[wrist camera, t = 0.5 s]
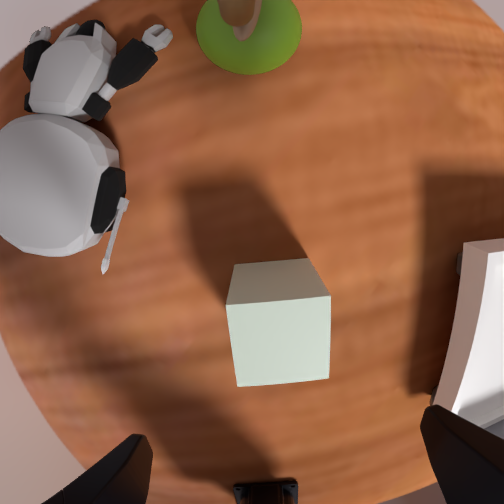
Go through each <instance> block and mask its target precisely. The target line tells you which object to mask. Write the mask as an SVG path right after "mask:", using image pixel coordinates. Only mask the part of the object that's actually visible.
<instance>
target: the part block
mask: <svg viewBox="0 0 504 504" xmlns="http://www.w3.org/2000/svg"><path fill="white" fill-rule="evenodd" d="M226 311H227V318H228V326H229V333H230V340H231V346H232V353H233V360H234V367H235V373H236V380H237V386H238V387H241V386H258V385H271V384H283V383H293V382H302V381H311V380H319V379H326V378H329V362H330V324H331V295H330V294H329V292H328V290H327V288H326V287H325V285H324V283H323V282H322V280H321V278H320V276H319V275H318V273H317V271H316V270H315V268H314V266H313V265H312V263H311V261H310V259H309V258H302V259H291V260H280V261H268V262H257V263H245V264H235V265H234V269H233V274H232V278H231V283H230V287H229V292H228V297H227V301H226Z"/></svg>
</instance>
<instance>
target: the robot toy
mask: <svg viewBox="0 0 504 504" xmlns="http://www.w3.org/2000/svg"><path fill="white" fill-rule="evenodd" d="M164 30H165V28H164V26H162V25H153V26H152V27H150V28H149V29H147V30H146V31H145V33H144V35H143V37H142V40H141V42H140V41H138V40H136V39H134V38H133V39H132V40H131V41H130V42H129V43H128V44H127V45H126V46H125V47H124V48H123V49H122V50H121V51H120V52H119V53H118V54H117V55H116V44H117V42H116V41H115V40H114V39H113V38H112V37H111V36H110V35H109V34H108V33H107V32H106V31H105V26H104V24H103V23H102V22H100V21H98V20H90V21H87V22H85V23H83V24H82V25H81V26H79V25H78V24H77V23H76V24H74V25H72V26H70V27H68V28H66V29H65V30H64V31H63V32H62V34H61V35H60V36H59V38H58V39H57V40H56V41H55V43H54V44H53V45H52V44H51V43H50V42H48V41H49V39H50V38H51V31H50V27H45V26H44V27H42V28H41V31H39V30H37V31H35V32H34V33H33V34H32V36H31V38H30V41H29V42H30V45H28V46H27V47H26V48H25V54H24V63H23V70H24V72H25V73H26V75H27V77H28V79H29V80H30V82H31V90H30V92H29V93H27V94H26V95H25V105H24V110H26V111H27V112H32V113H39V114H32V115H26V116H23V117H20V118H17V119H14V120H12V121H10V122H9V123H8V124H7V125H5V126H4V127H3V128H2V129H1V130H0V235H1V236H2V237H3V238H4V239H5V240H7V241H8V242H10V243H11V244H13V245H14V246H16V247H17V248H18V249H20V250H22V251H23V252H26V253H31V254H37V255H43V256H50V257H62V256H69V255H72V254H74V253H77V252H79V251H82V250H85V249H87V248H89V247H91V246H93V245H96V244H98V242H99V240H100V239H101V237H102V236H103V234H104V233H105V232H108V231H112V233H111V236H110V240H109V243H108V247H107V251H106V254H105V258H103V262H102V265H101V270H102V274H104V273H105V272H106V271H107V269H108V267H109V263H110V260H109V259H110V255H111V252H112V248H113V244H114V241H115V237H116V234H117V231H118V227H119V224H120V221H121V218H122V214H123V211H125V212H126V209H127V206H128V203H129V200H127V199H125V194H126V183H125V172H124V171H123V170H121V169H120V165H119V153H118V150H117V149H116V147H115V146H114V145H113V143H112V142H111V140H110V139H109V138H108V137H107V136H105V135H104V134H103V133H101V132H99V131H98V130H96V129H94V128H92V127H90V126H88V125H85V124H83V123H80V122H87V121H88V120H90V119H92V118H94V119H96V120H98V121H101V120H102V118H103V117H104V116H105V114H106V113H107V112H108V111H109V109H110V108H111V105H110V103H109V102H108V101H109V99H110V98H111V97H112V96H113V95H114V93H115V92H116V91H117V90H119V89H121V88H124V87H126V86H129V85H131V84H133V83H135V82H137V81H139V80H140V79H141V78H142V76H143V75H144V74H145V73H146V72H147V71H148V70H149V69H150V68H151V67H152V66H153V65H154V64H155V63H156V61H157V60H158V58H157V56H156V55H155V54H154V52H157V51H159V50H161V49H163V48H166V47H167V45H168V44H169V42H170V41H171V40H172V38H173V35H172V32H171V31H170V30H169V29H166V30H165V31H164ZM77 121H78V122H77ZM112 229H113V230H112Z"/></svg>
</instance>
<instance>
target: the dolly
mask: <svg viewBox="0 0 504 504" xmlns="http://www.w3.org/2000/svg"><path fill="white" fill-rule="evenodd" d="M456 272H457V274H459V275H460V285H459V292H458V299H457V305H456V311H455V317H454V323H453V328H452V333H451V338H450V342H449V347H448V351H447V355H446V360H445V364H444V367H443V371H442V375H441V379H440V382H439V385H438V386H436V387H435V388H434V389H433V392H432V395H431V399H430V406H432V405H435V404H438V405H440V406H442V407H444V408H446V409H447V410H449V411H451V412H453V413H455V414H457V415H459V416H460V417H462V418H464V419H466V420H468V421H470V422H472V423H474V424H475V425H477V426H479V427H481V428H483V429H485V430H487V431H489V432H491V433H493V434H495V435H497V436H499V437H501V438H502V439H504V238H501V239H492V240H483V241H473V242H464V244H463V252H461V253H459V254H458V258H457V268H456Z"/></svg>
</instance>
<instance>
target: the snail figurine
mask: <svg viewBox="0 0 504 504" xmlns="http://www.w3.org/2000/svg"><path fill="white" fill-rule="evenodd" d="M301 34H302V23H301V18H300V15H299V12H298V10H297V8H296V6H295V5H294V4H293V2H292V1H291V0H207V1H206V2H205V4H204V5H203V7H202V8H201V10H200V12H199V15H198V18H197V23H196V35H197V39H198V43H199V45H200V47H201V49H202V51H203V52H204V54H205V55H206V56H207V57H208V58H209V59H210V60H211V61H212V62H213V63H214V64H216V65H217V66H219V67H220V68H222V69H224V70H227V71H229V72H232V73H237V74H243V75H254V74H261V73H265V72H268V71H271V70H273V69H275V68H277V67H279V66H281V65H282V64H283V63H285V62H286V61H287V60H288V59H289V58H290V57H291V56H292V55H293V53H294V52H295V50H296V49H297V47H298V45H299V42H300V39H301Z"/></svg>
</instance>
